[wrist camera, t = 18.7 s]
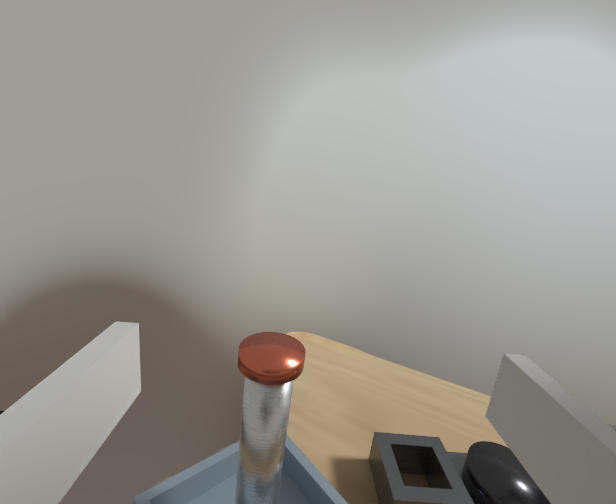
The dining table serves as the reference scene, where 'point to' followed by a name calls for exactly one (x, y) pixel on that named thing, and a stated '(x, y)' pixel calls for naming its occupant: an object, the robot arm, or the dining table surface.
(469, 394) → the dining table surface
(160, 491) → the tray
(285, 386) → the lock pin
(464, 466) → the bracket
